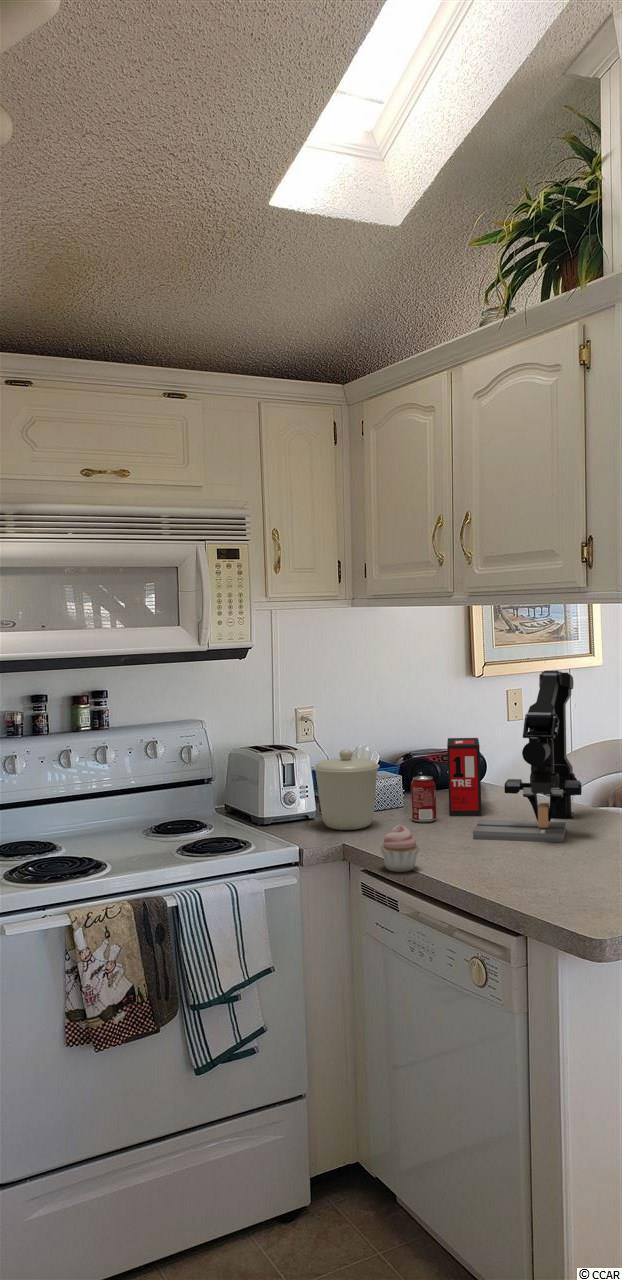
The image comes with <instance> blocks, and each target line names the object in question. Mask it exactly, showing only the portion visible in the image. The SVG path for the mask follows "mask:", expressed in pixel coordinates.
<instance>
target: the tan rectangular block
mask: <svg viewBox="0 0 622 1280" xmlns="http://www.w3.org/2000/svg"><path fill="white" fill-rule="evenodd" d="M549 806H550V802H538V827H542V828H548V826H549V823H550V822H551V821H549V818H548V815H549Z"/></svg>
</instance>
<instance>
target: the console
mask: <svg viewBox="0 0 622 1280" xmlns="http://www.w3.org/2000/svg"><path fill="white" fill-rule="evenodd" d="M549 822H550V823H549V826H548V828H542V827H538V821H537V820H536V821H535V820H516V819H514V820H511V819H482V818H480V819H479V820H478V822H477V825H475V827H474V828H473V831H472V839H473V840H494V841H496V840H497V841H515V842H516V841H520V842H542V843H543V842H545V843H546V842H547V843H549V842H550V843H565V837H566V831H567V823H566V821H549Z"/></svg>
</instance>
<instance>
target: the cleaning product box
mask: <svg viewBox="0 0 622 1280" xmlns="http://www.w3.org/2000/svg"><path fill="white" fill-rule="evenodd" d="M446 746H447V749H446V750H447V776H448V778H447V779H448V807H449V809H448V810H449V811H448V812H449V813H448V814H449V815H448V816H449V817H482V792H481V791H482V790H481V788H482V787H481V783H482V782H481V755H480V754H481V753H480V750H481V749H480V748H481V747H480V741H479V737H451V738H450V737H447V745H446Z"/></svg>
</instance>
